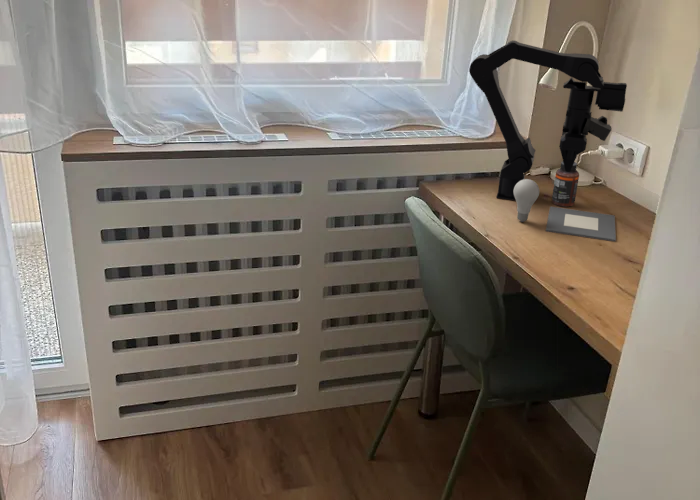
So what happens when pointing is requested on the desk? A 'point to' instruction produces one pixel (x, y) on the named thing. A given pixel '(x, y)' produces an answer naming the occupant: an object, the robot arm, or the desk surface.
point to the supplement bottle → (565, 186)
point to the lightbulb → (525, 197)
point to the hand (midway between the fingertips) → (568, 166)
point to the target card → (581, 223)
